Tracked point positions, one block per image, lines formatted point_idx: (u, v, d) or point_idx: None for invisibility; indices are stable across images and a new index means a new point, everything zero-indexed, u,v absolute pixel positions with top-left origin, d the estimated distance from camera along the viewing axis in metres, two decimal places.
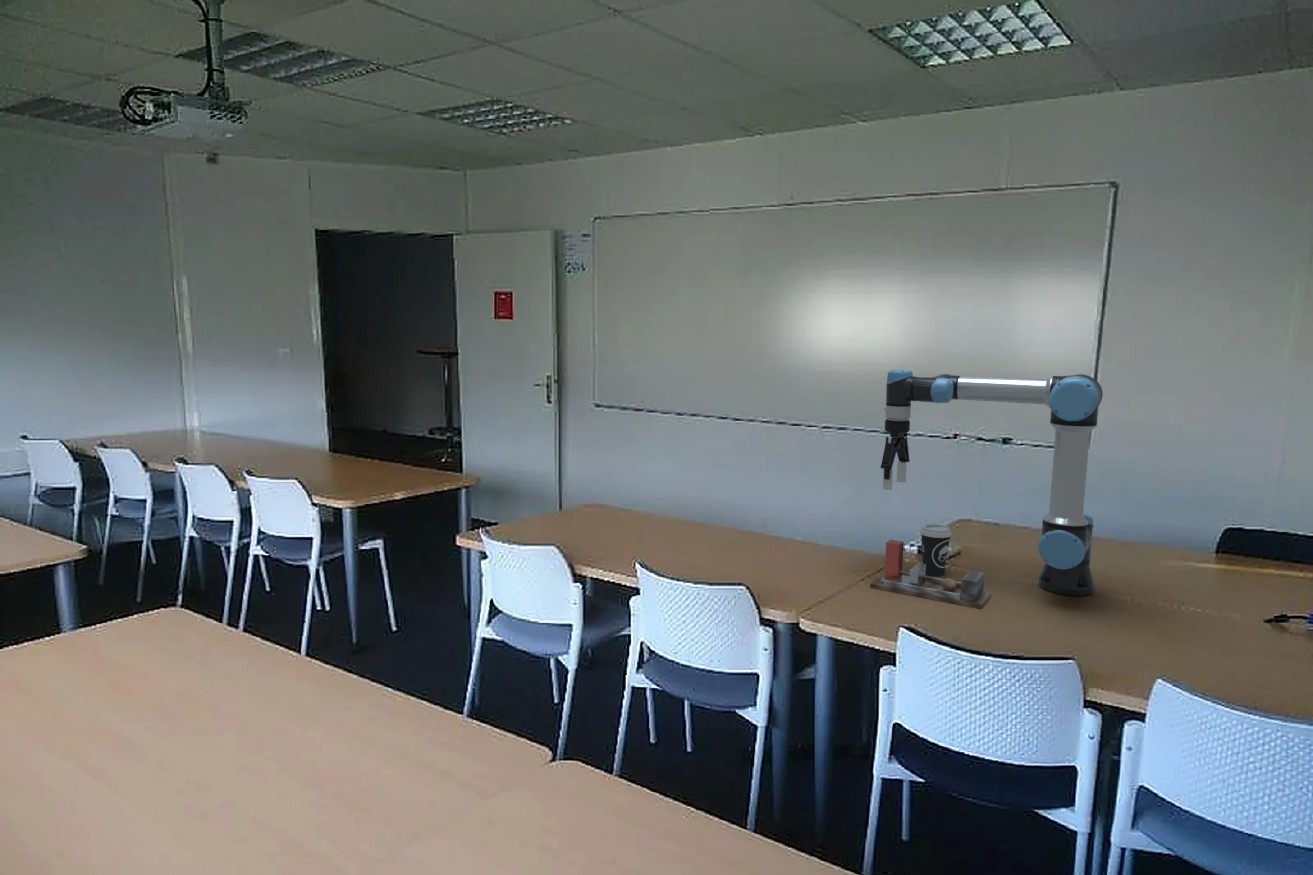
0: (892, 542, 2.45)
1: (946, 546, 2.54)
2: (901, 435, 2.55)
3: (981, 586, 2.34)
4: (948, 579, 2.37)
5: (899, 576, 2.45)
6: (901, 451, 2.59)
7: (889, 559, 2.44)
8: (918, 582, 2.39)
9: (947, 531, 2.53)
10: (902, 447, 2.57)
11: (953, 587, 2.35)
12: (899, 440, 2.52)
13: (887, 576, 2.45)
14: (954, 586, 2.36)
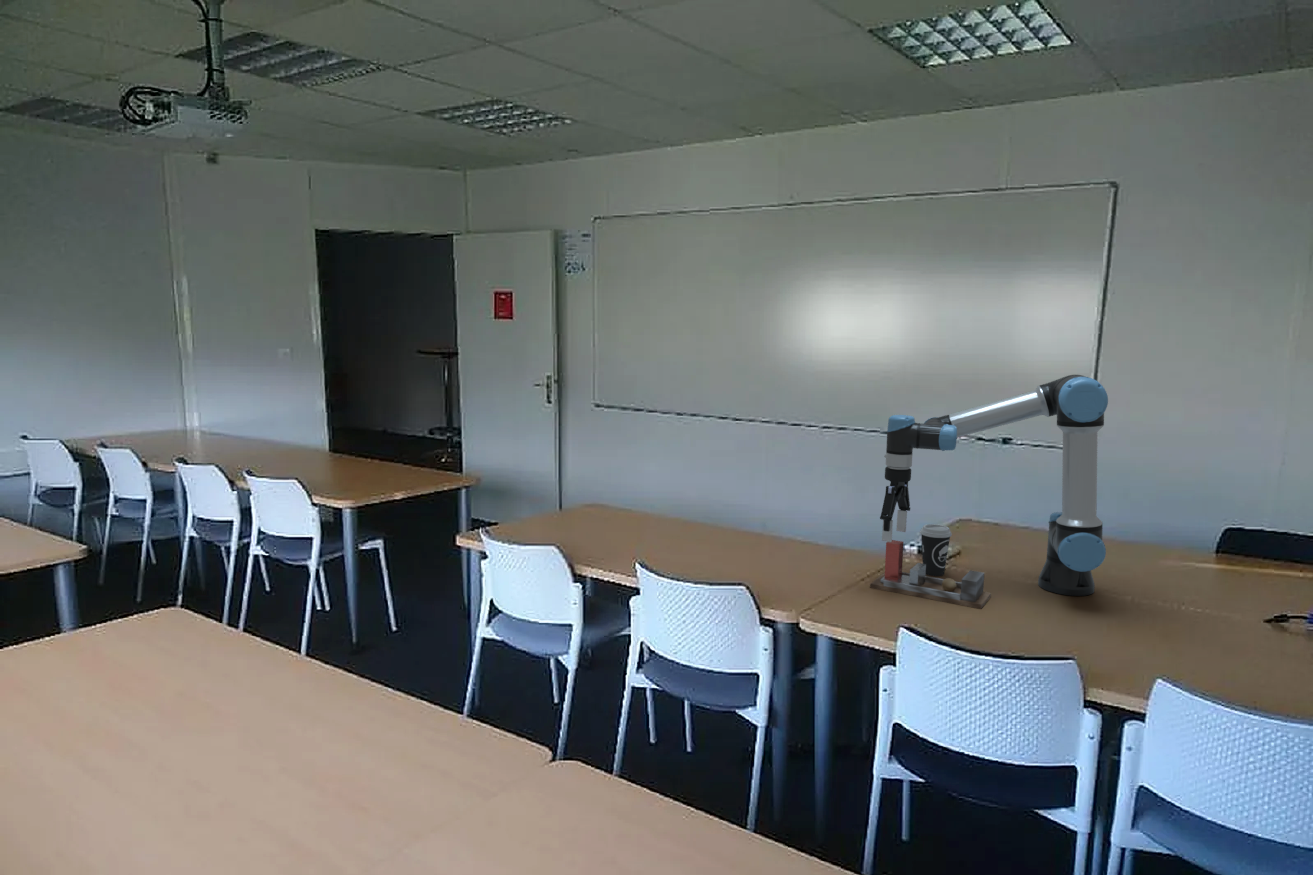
0: (892, 542, 2.45)
1: (946, 546, 2.54)
2: (902, 484, 2.43)
3: (981, 586, 2.34)
4: (948, 579, 2.37)
5: (899, 576, 2.45)
6: (901, 500, 2.47)
7: (889, 559, 2.44)
8: (918, 582, 2.39)
9: (947, 531, 2.53)
10: (903, 496, 2.45)
11: (953, 587, 2.35)
12: (900, 489, 2.40)
13: (887, 576, 2.45)
14: (954, 586, 2.36)
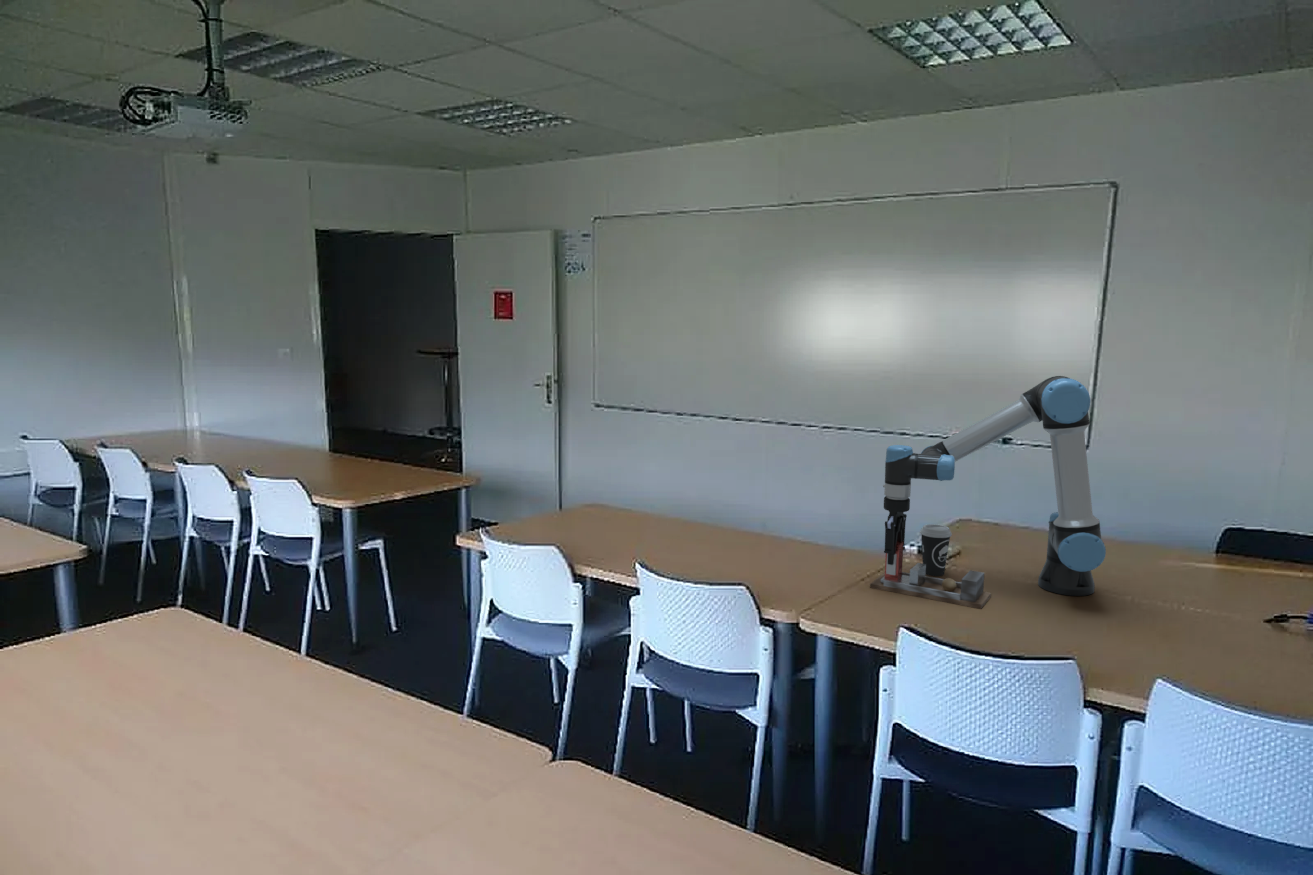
0: None
1: (946, 546, 2.54)
2: None
3: (981, 586, 2.34)
4: (948, 579, 2.37)
5: (899, 576, 2.45)
6: (897, 534, 2.46)
7: None
8: (918, 582, 2.39)
9: (947, 531, 2.53)
10: (900, 528, 2.45)
11: (953, 587, 2.35)
12: (899, 521, 2.41)
13: (887, 576, 2.45)
14: (954, 586, 2.36)
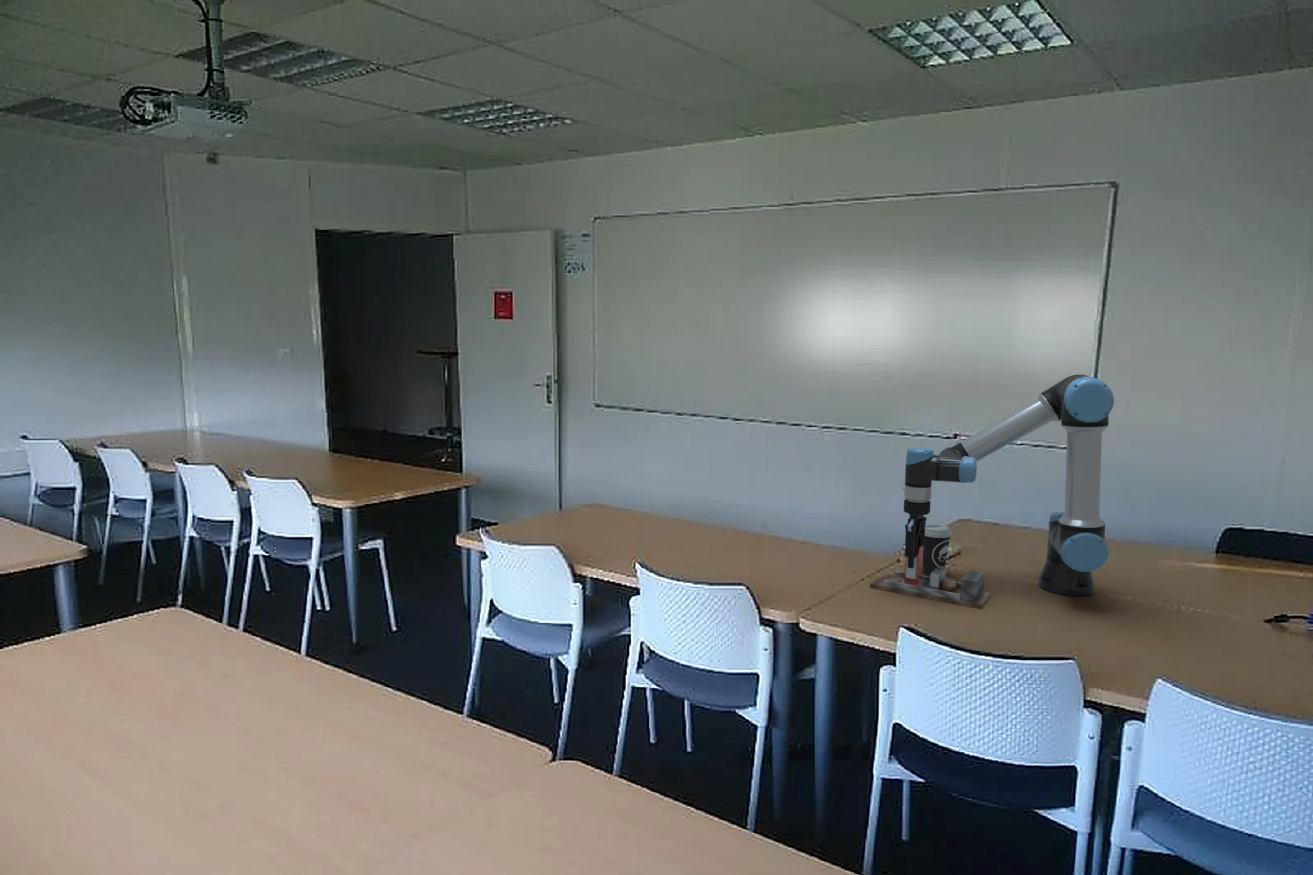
0: None
1: (946, 546, 2.54)
2: None
3: (981, 586, 2.34)
4: (948, 579, 2.37)
5: (919, 580, 2.42)
6: (917, 537, 2.43)
7: None
8: (939, 586, 2.36)
9: (947, 531, 2.53)
10: (920, 531, 2.41)
11: (953, 587, 2.35)
12: (919, 523, 2.38)
13: (907, 580, 2.42)
14: (954, 586, 2.36)
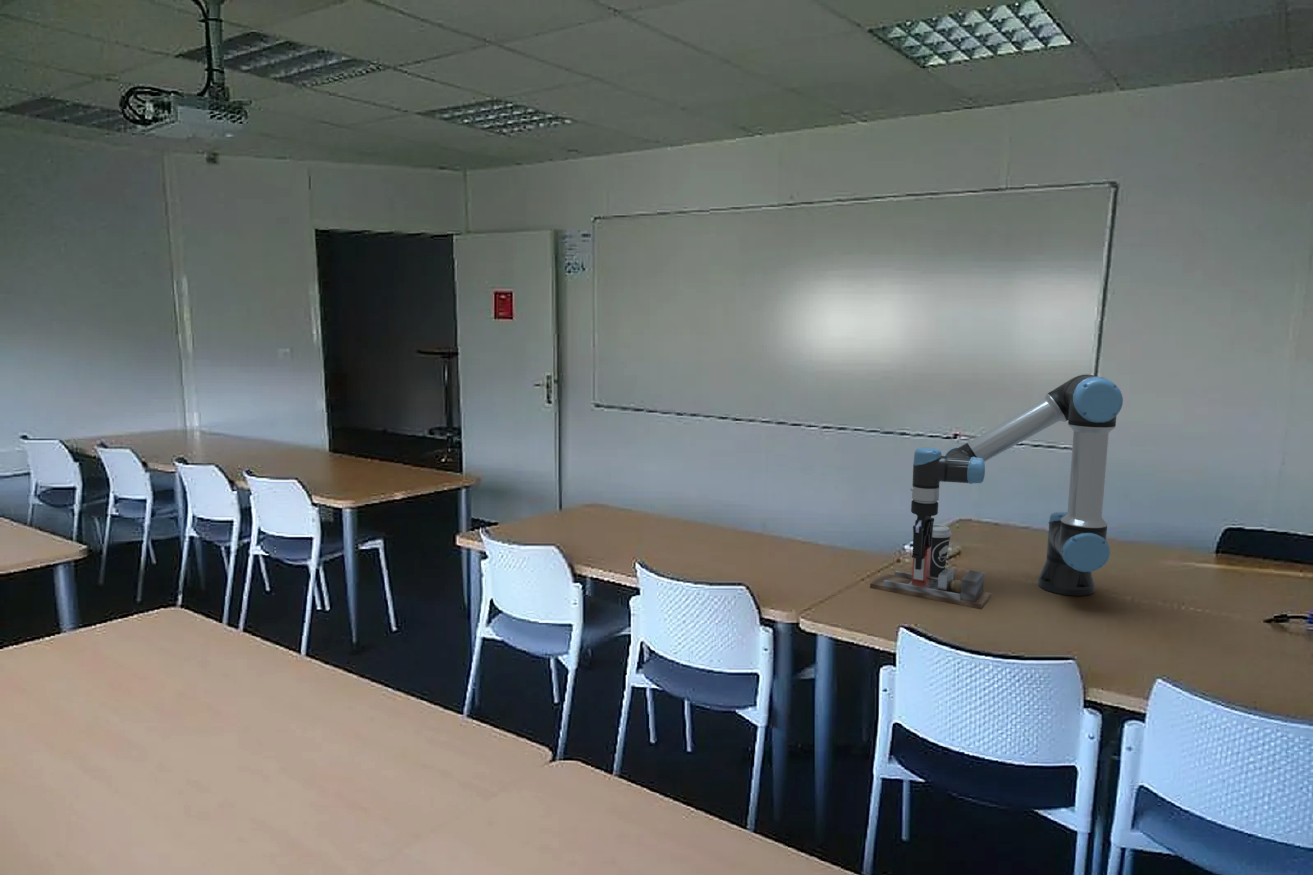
0: None
1: (946, 546, 2.54)
2: None
3: (981, 586, 2.34)
4: None
5: (927, 581, 2.40)
6: None
7: None
8: (947, 587, 2.35)
9: (947, 531, 2.53)
10: (928, 532, 2.40)
11: (958, 593, 2.35)
12: (927, 525, 2.37)
13: (914, 581, 2.41)
14: (959, 593, 2.35)
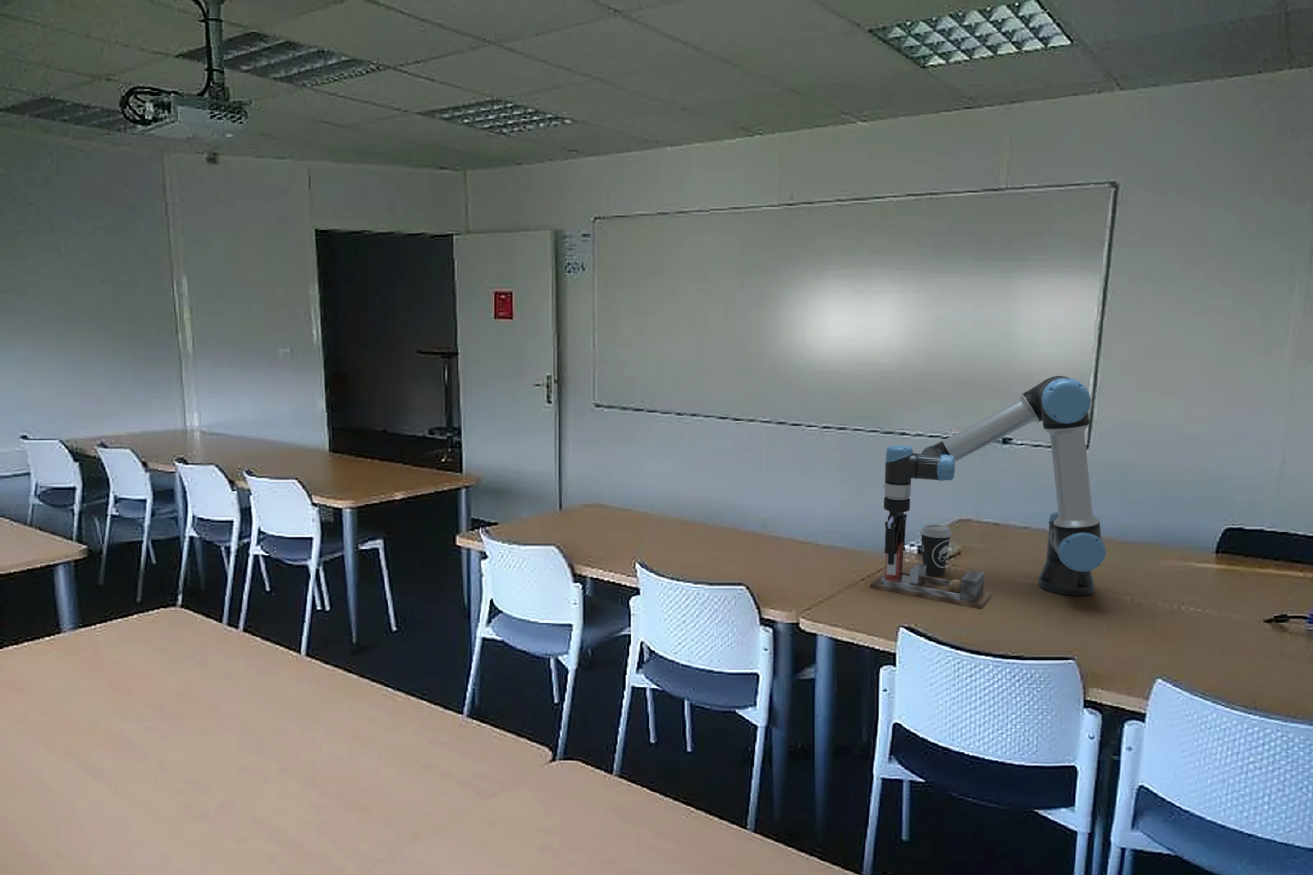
0: None
1: (946, 546, 2.54)
2: None
3: (981, 586, 2.34)
4: (960, 584, 2.35)
5: (899, 576, 2.45)
6: (898, 534, 2.46)
7: None
8: (918, 582, 2.39)
9: (947, 531, 2.53)
10: (900, 528, 2.45)
11: (957, 592, 2.35)
12: (899, 521, 2.41)
13: (887, 576, 2.45)
14: (959, 592, 2.35)
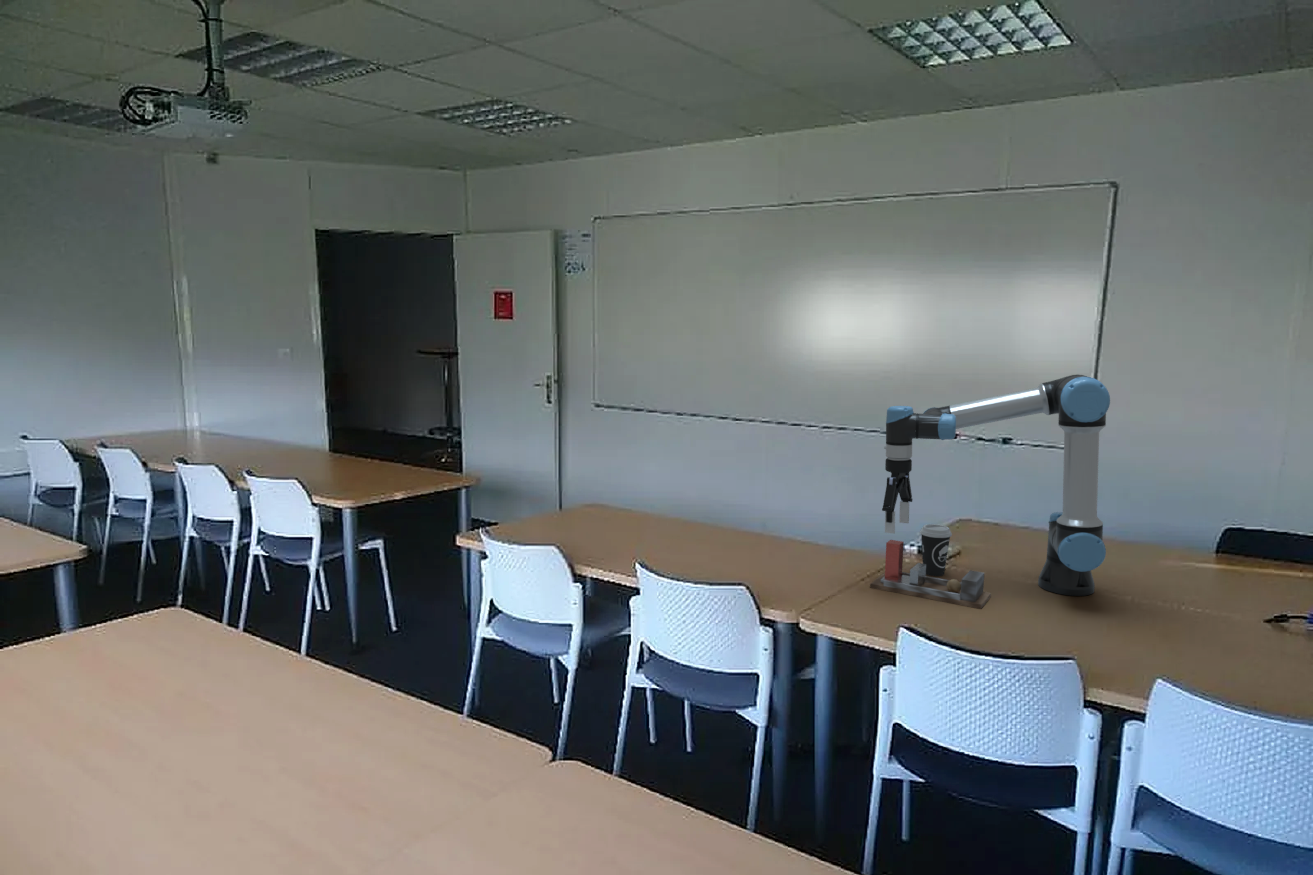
0: (892, 542, 2.45)
1: (946, 546, 2.54)
2: (903, 475, 2.42)
3: (981, 586, 2.34)
4: (957, 582, 2.35)
5: (899, 576, 2.45)
6: (903, 491, 2.46)
7: (889, 559, 2.44)
8: (918, 582, 2.39)
9: (947, 531, 2.53)
10: (904, 487, 2.44)
11: (956, 591, 2.35)
12: (901, 480, 2.39)
13: (887, 576, 2.45)
14: (958, 590, 2.35)
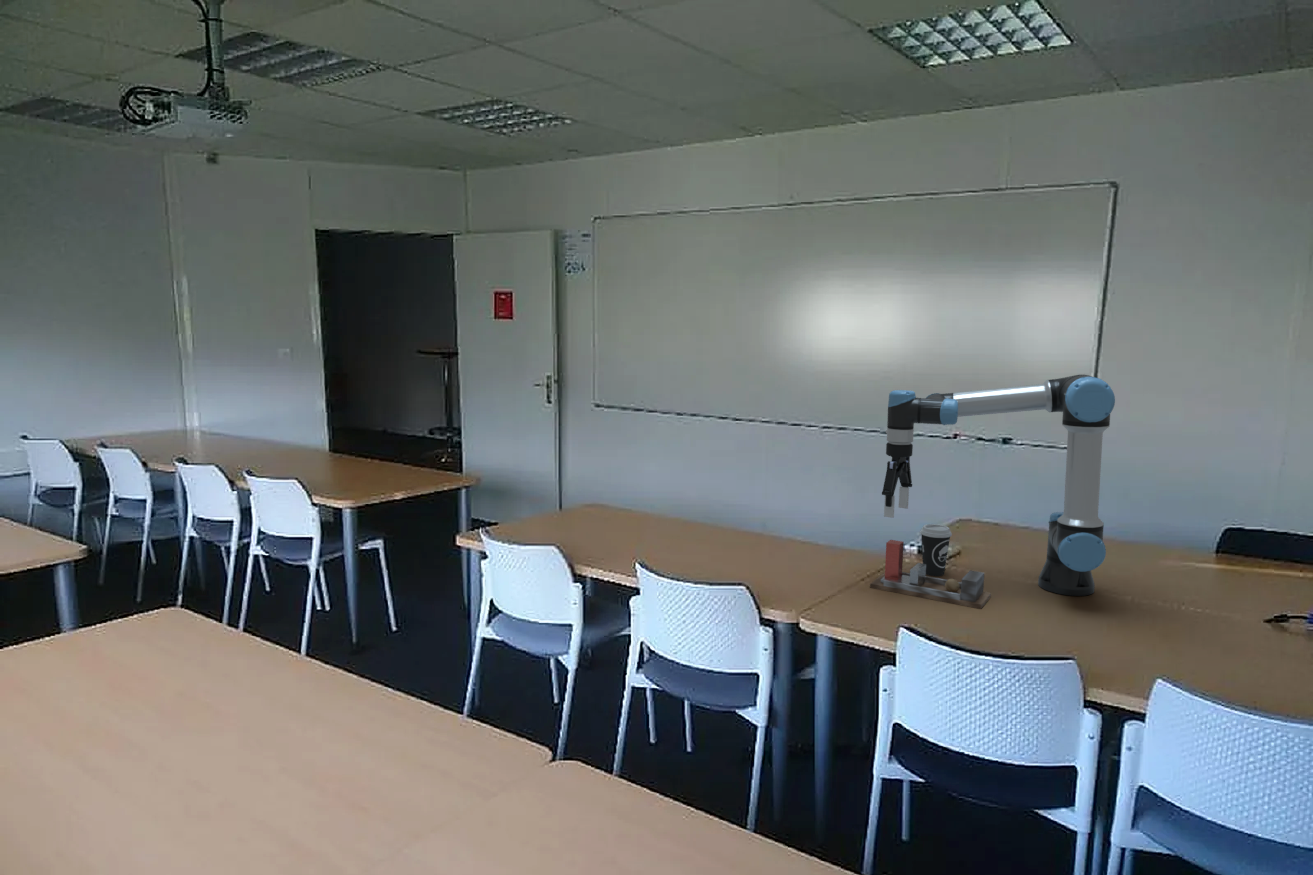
0: (892, 542, 2.45)
1: (946, 546, 2.54)
2: (903, 459, 2.41)
3: (981, 586, 2.34)
4: (954, 580, 2.36)
5: (899, 576, 2.45)
6: (903, 476, 2.45)
7: (889, 559, 2.44)
8: (918, 582, 2.39)
9: (947, 531, 2.53)
10: (904, 472, 2.44)
11: (955, 590, 2.35)
12: (901, 465, 2.39)
13: (887, 576, 2.45)
14: (957, 589, 2.35)
